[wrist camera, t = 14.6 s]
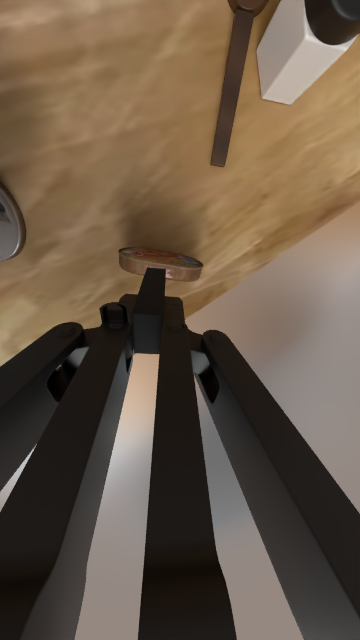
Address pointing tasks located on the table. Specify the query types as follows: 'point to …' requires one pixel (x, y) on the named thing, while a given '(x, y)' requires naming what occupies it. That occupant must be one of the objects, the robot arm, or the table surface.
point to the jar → (304, 44)
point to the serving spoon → (234, 74)
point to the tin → (160, 263)
